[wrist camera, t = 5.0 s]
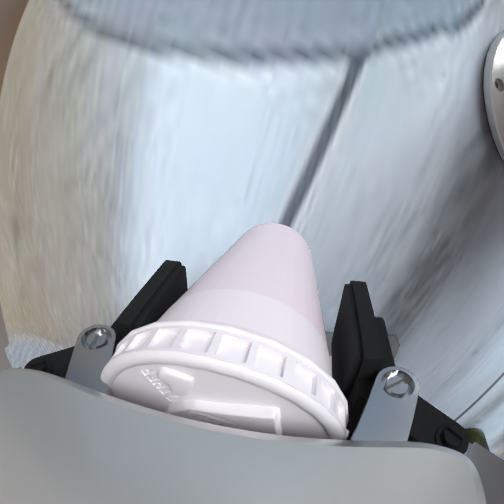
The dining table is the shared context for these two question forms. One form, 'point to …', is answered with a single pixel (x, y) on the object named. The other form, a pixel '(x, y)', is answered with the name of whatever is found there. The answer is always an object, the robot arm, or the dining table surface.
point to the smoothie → (240, 346)
